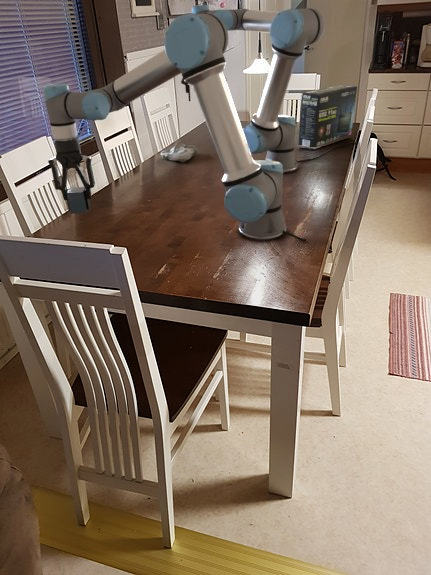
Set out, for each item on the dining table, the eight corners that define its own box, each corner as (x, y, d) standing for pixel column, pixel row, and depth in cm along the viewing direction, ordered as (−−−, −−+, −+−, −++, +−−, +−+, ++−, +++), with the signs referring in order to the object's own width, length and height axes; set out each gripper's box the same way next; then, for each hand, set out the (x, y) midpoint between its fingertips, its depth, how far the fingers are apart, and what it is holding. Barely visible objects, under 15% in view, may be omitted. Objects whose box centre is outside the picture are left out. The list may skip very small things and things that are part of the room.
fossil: (184, 156, 217) (163, 136, 220) (174, 174, 223) (154, 154, 227) (205, 153, 231) (186, 134, 234) (195, 171, 237) (176, 152, 240)
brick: (89, 206, 158) (85, 186, 154) (86, 212, 153) (82, 192, 150) (74, 207, 158) (69, 187, 154) (70, 213, 153) (66, 193, 150)
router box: (314, 151, 231) (318, 94, 217) (296, 148, 237) (299, 92, 224) (352, 138, 251) (358, 85, 238) (335, 135, 258) (340, 83, 245)
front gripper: (97, 134, 147) (108, 202, 159) (39, 136, 146) (55, 205, 158) (93, 139, 140) (105, 210, 152) (32, 142, 140) (49, 213, 152)
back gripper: (230, 45, 201) (231, 97, 212) (173, 48, 200) (177, 99, 211) (232, 46, 194) (232, 99, 205) (173, 49, 193) (177, 102, 204)
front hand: (79, 208), depth 155 cm, fingers closed on brick, 5 cm apart
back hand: (204, 100), depth 208 cm, fingers open, 13 cm apart
